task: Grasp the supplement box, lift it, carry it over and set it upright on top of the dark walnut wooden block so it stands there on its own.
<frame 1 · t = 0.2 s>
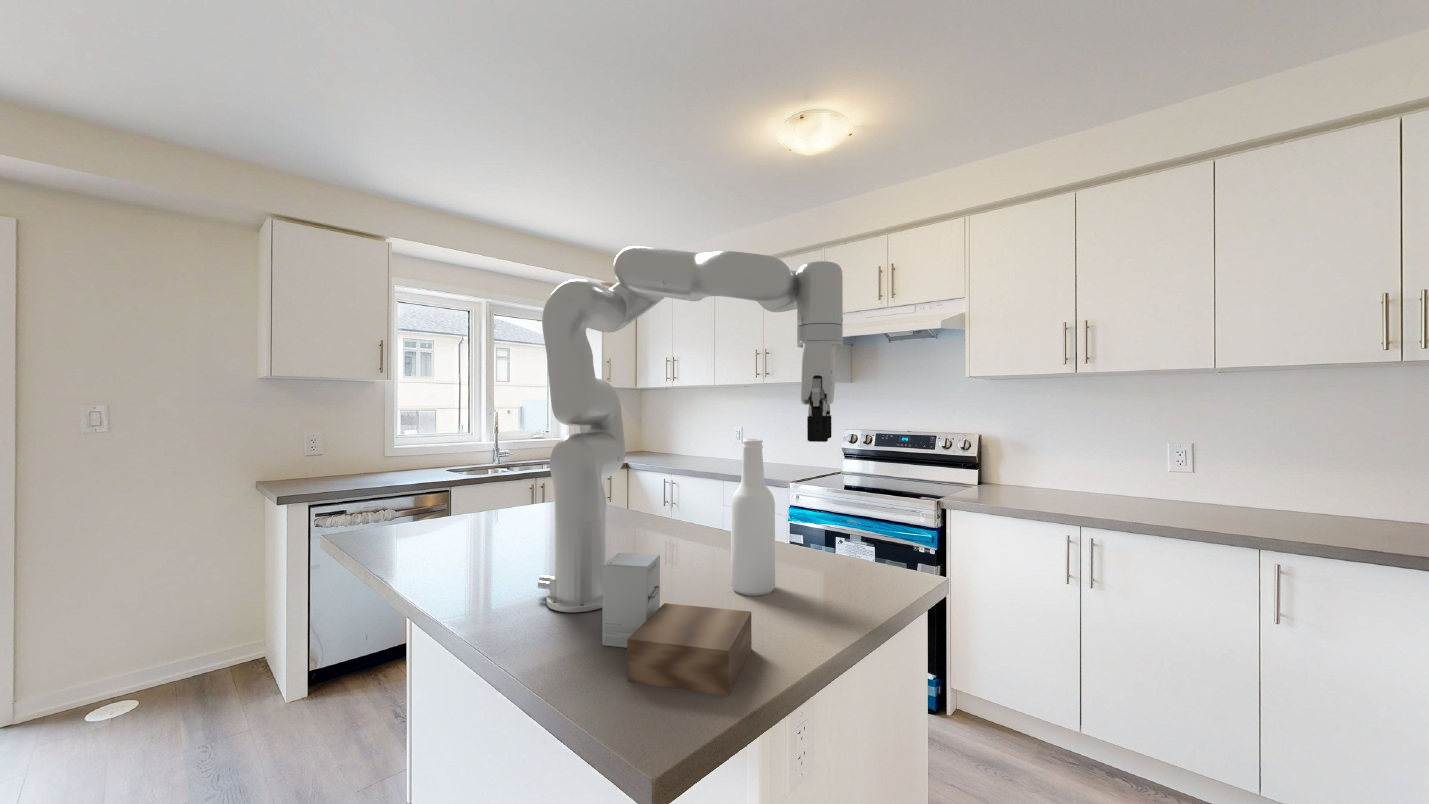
hand: (820, 439, 94), 31 cm above the countertop, tool pointing down, fingers open, 9 cm apart
white bottle: (753, 590, 112), on the countertop
supplement box: (632, 639, 88), on the countertop
walnut block: (693, 666, 79), on the countertop
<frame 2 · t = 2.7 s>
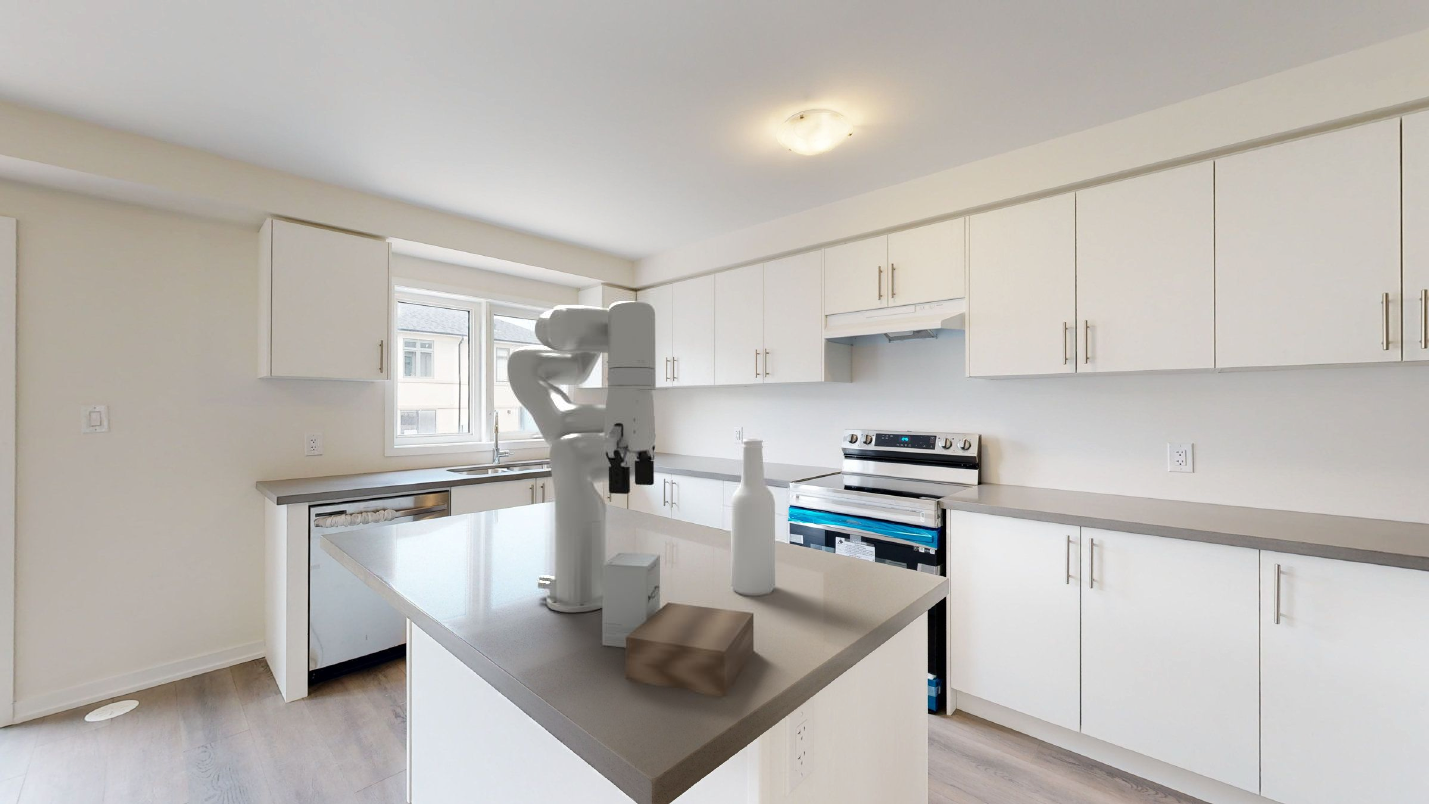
hand: (632, 488, 88), 24 cm above the countertop, tool pointing down, fingers open, 9 cm apart
nothing on the countertop moved.
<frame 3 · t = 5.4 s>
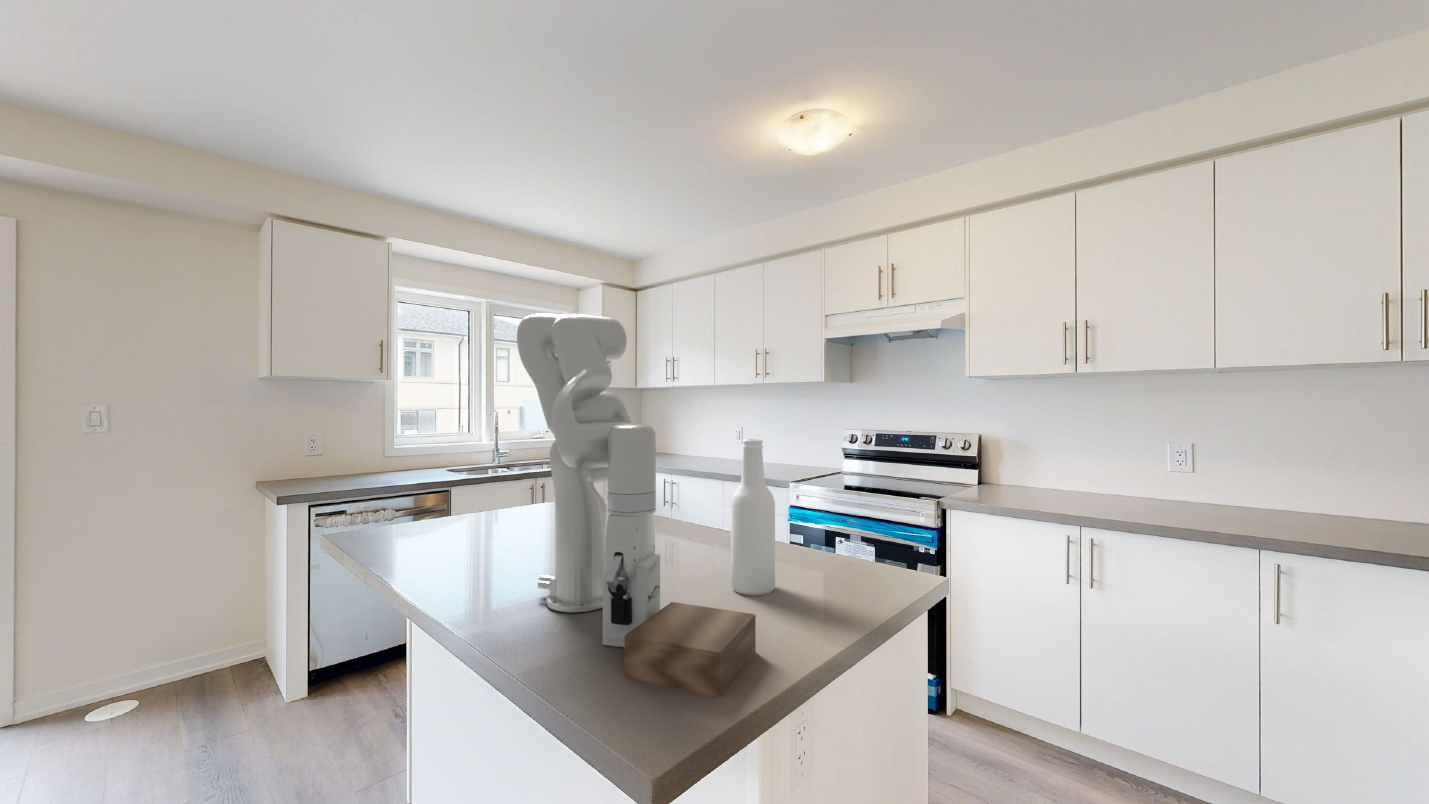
hand: (632, 613, 88), 4 cm above the countertop, tool pointing down, fingers closed on supplement box, 7 cm apart
supplement box: (632, 639, 88), on the countertop, touching gripper
everything else where it was.
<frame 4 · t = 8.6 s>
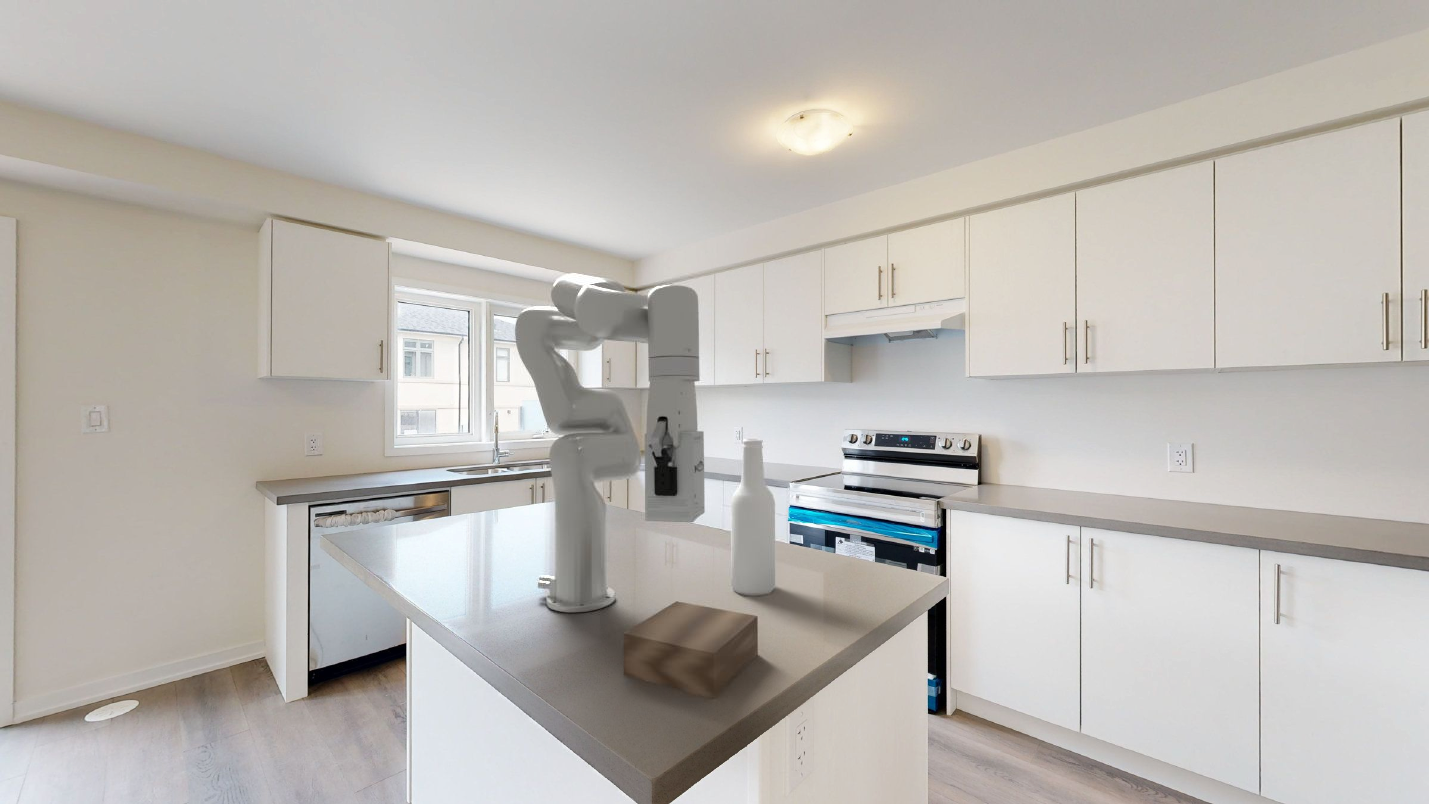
hand: (675, 490, 82), 24 cm above the countertop, tool pointing down, fingers closed on supplement box, 7 cm apart
supplement box: (676, 518, 82), point 20 cm above the countertop, touching gripper
when the fingers open (11 cm above the countertop, at t = 12.0 s): supplement box drops 2 cm, resting on walnut block.
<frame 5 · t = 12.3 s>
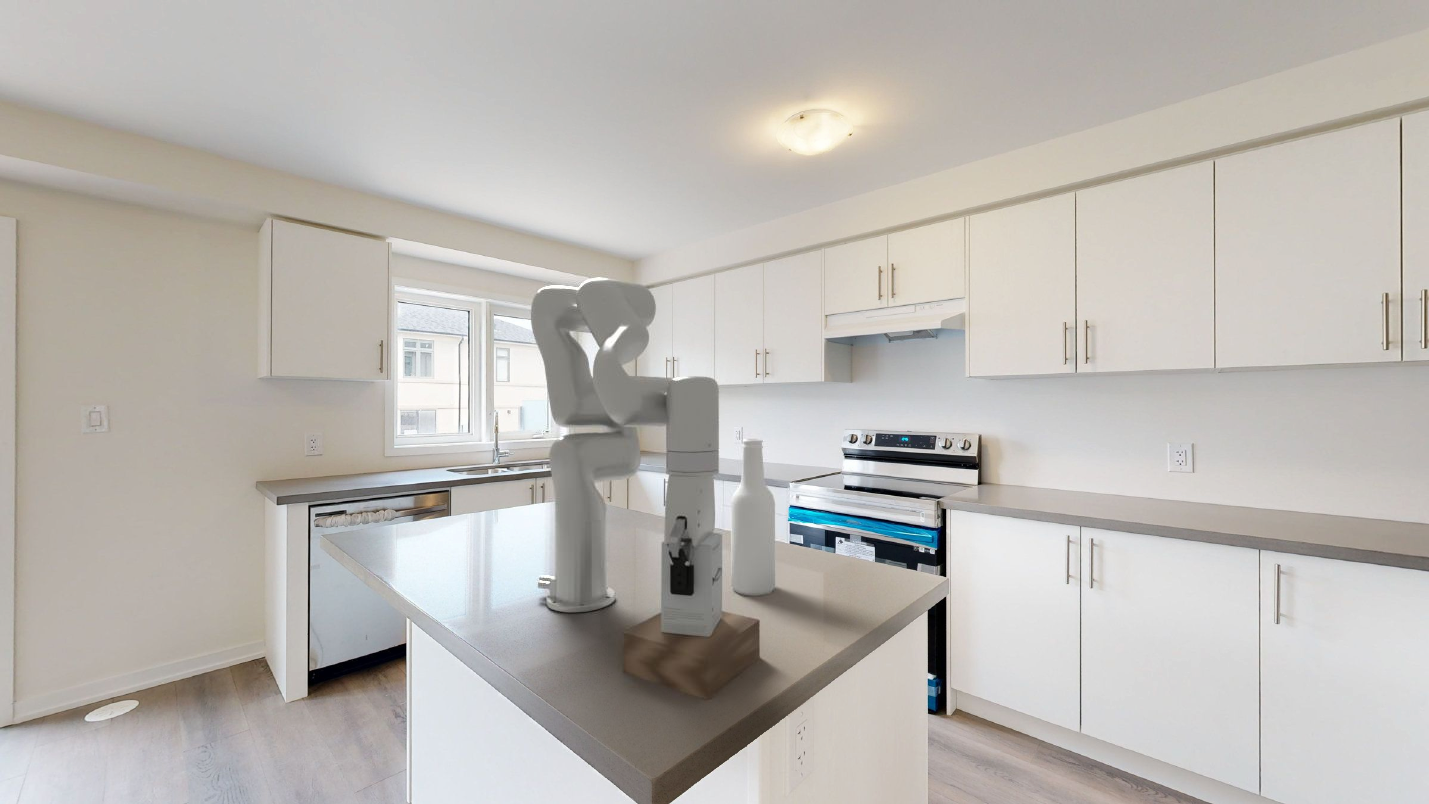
hand: (692, 583, 80), 11 cm above the countertop, tool pointing down, fingers open, 9 cm apart
supplement box: (692, 626, 80), point 5 cm above the countertop, touching walnut block
walnut block: (693, 668, 79), on the countertop, touching supplement box
everything else where it was.
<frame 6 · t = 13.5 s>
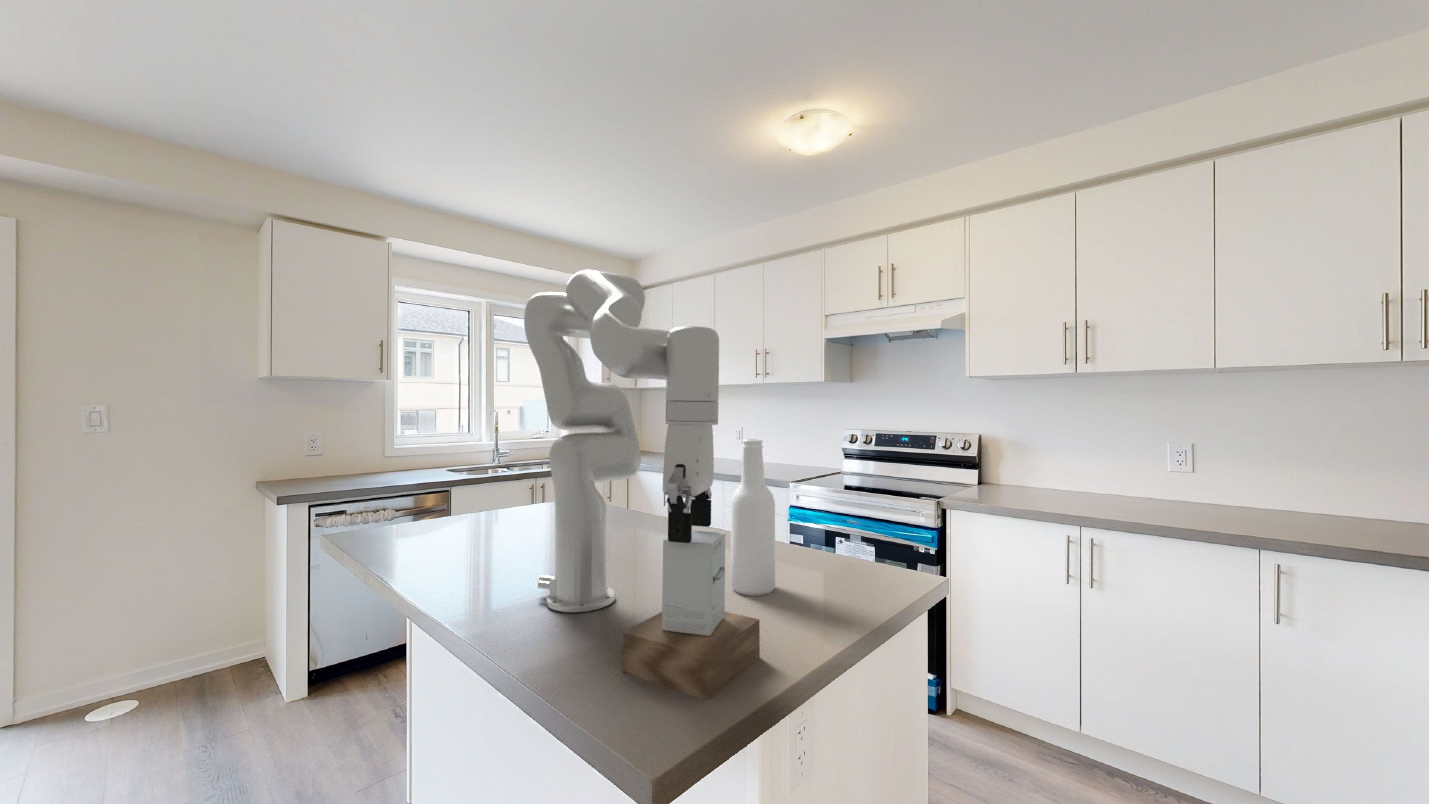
hand: (690, 533, 80), 19 cm above the countertop, tool pointing down, fingers open, 9 cm apart
nothing on the countertop moved.
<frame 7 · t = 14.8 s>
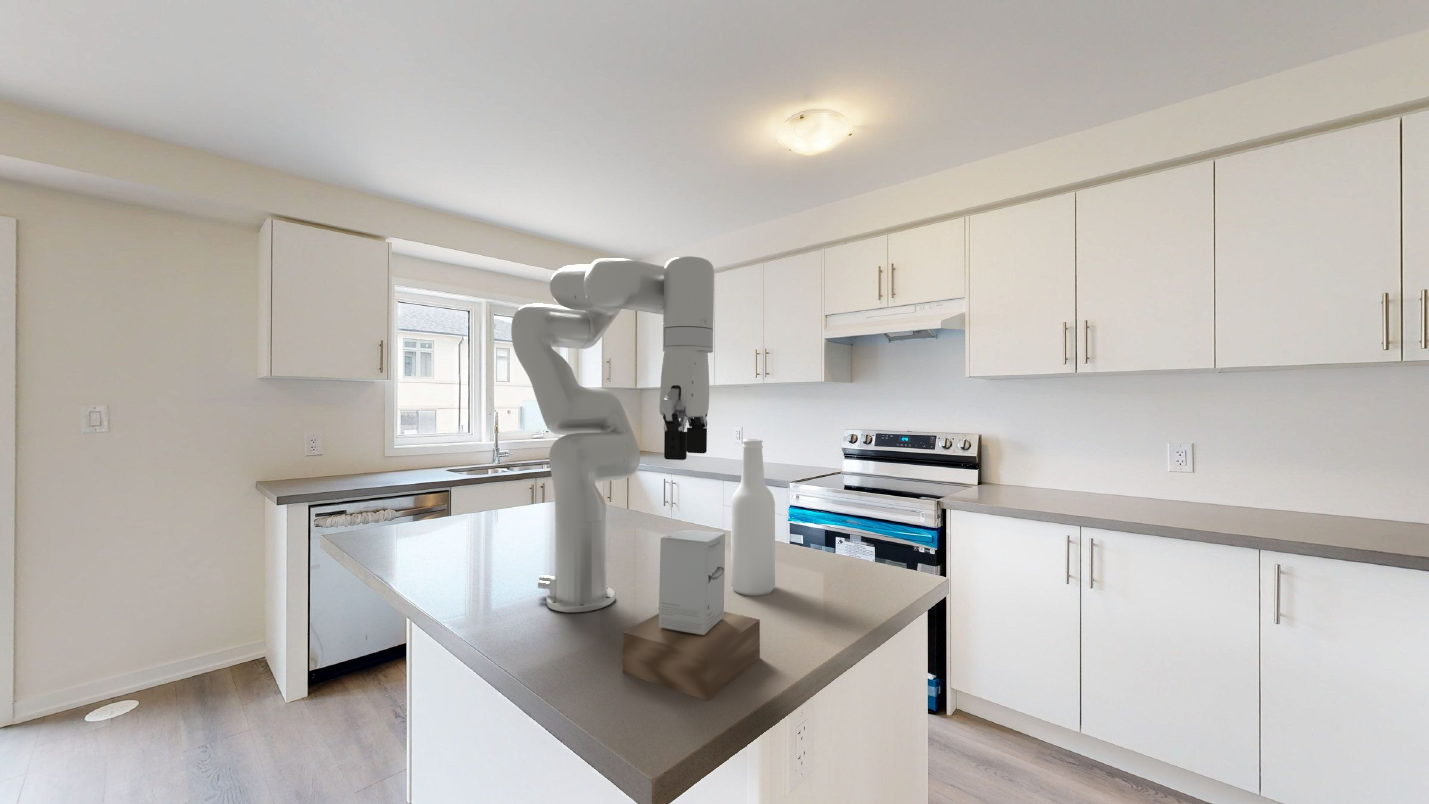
hand: (686, 456, 84), 29 cm above the countertop, tool pointing down, fingers open, 9 cm apart
supplement box: (692, 624, 80), point 5 cm above the countertop
walnut block: (693, 668, 79), on the countertop
everything else where it was.
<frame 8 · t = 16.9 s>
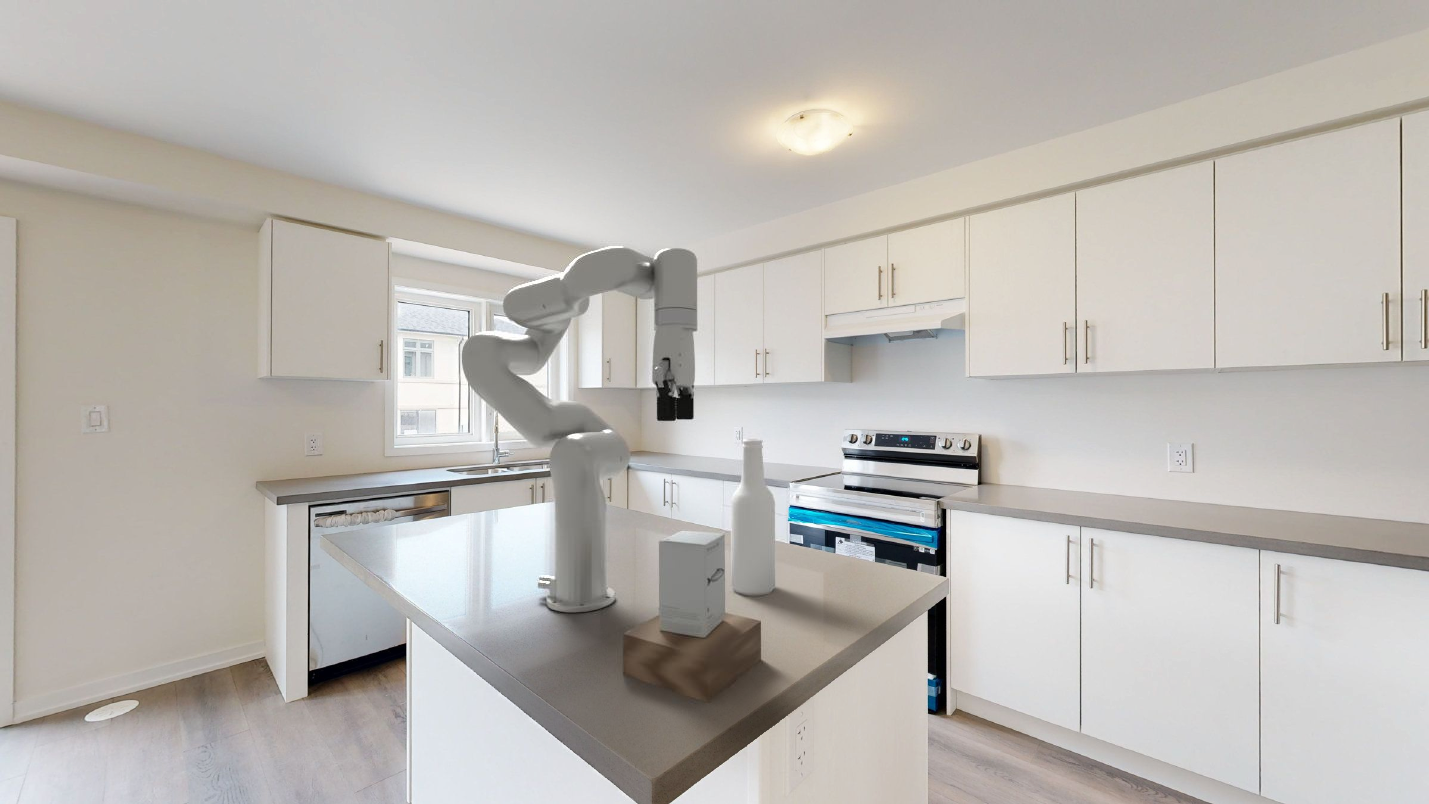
hand: (676, 420, 97), 34 cm above the countertop, tool pointing down, fingers open, 9 cm apart
nothing on the countertop moved.
at the end: supplement box inside the target area on the walnut block (0.4 cm from its centre), point 5.9 cm above the walnut block's base; supplement box tilted 1°; the gripper is holding nothing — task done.
